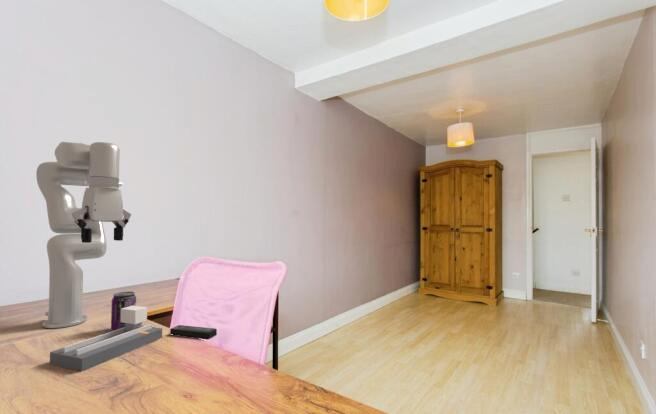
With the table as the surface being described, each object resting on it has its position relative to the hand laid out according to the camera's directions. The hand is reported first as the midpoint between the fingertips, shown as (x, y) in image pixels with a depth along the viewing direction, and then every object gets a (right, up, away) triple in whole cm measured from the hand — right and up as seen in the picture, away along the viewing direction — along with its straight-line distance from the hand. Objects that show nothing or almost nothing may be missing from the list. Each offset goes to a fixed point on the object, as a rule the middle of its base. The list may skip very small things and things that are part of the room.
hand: (103, 241), depth 100 cm
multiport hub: (+24, -31, +7) cm, 40 cm away
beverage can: (-1, -31, +12) cm, 33 cm away
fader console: (+6, -30, -5) cm, 31 cm away
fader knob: (+8, -27, +1) cm, 29 cm away
